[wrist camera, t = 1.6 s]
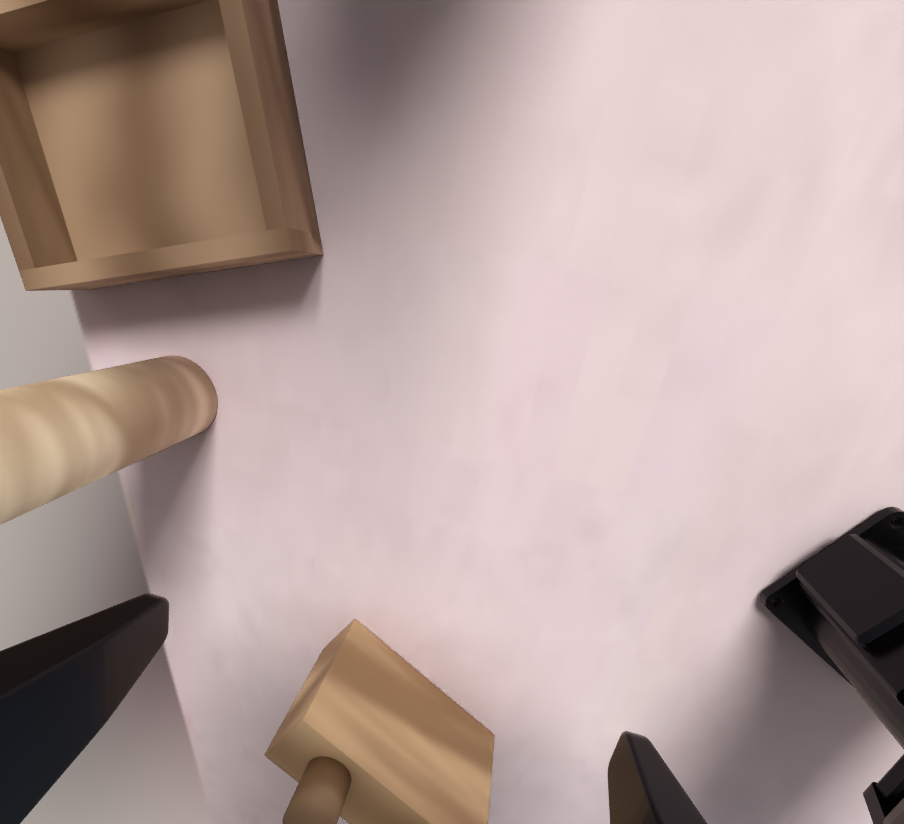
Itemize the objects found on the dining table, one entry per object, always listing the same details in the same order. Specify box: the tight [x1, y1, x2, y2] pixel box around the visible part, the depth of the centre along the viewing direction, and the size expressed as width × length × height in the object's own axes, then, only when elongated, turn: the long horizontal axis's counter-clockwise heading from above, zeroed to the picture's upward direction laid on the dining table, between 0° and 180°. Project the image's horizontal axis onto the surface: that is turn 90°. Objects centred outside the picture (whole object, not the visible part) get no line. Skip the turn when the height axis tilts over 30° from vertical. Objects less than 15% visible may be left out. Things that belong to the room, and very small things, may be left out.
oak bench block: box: [265, 619, 494, 824], centre depth 22 cm, size 3×10×8 cm, turn 49°
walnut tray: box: [0, 0, 323, 291], centre depth 18 cm, size 12×10×3 cm
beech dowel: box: [0, 356, 217, 524], centre depth 17 cm, size 4×4×11 cm
